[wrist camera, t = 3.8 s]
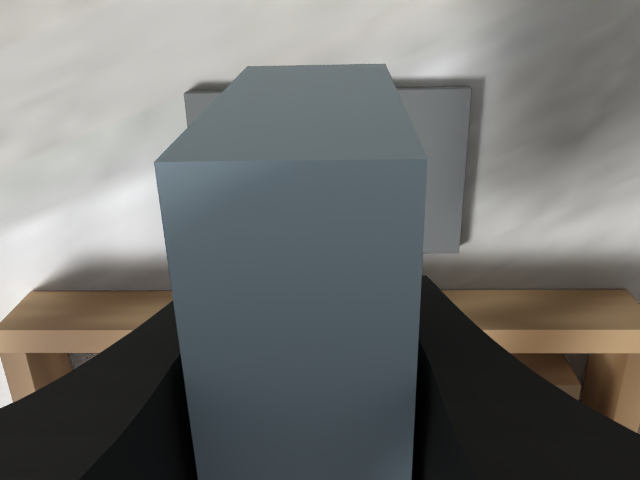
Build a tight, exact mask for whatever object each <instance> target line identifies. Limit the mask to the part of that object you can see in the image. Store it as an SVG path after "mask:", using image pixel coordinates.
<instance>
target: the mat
mask: <svg viewBox="0 0 640 480" xmlns="http://www.w3.org/2000/svg"><path fill="white" fill-rule="evenodd" d="M396 89H397V91H398V93H399V96H400V98H401V100H402V102H403V105H404V107H405V109H406V111H407V114H408V116H409V118H410V120H411V123H412V125H413V127H414V129H415V132H416V134H417V136H418V138H419V141H420V143H421V145H422V147H423V150H424V152H425V154H426V156H427V159H428V161H427V181H426V201H425V221H424V241H423V254H426V253H459V247H460V233H461V220H462V207H463V194H464V181H465V168H466V155H467V142H468V129H469V116H470V103H471V90H472V89H471V88H470V87H469V86H456V87H397V88H396ZM223 91H224V90H221V91H187V92H185V93H184V100H185V109H186V118H187V127H189V126H190V125H191V124H192V123H193V122H194V121H195V120H196V119H197V118H198V117H199V116H200V114H201V113H202V112H203V111H204V110H205V109H206V108H207V107H208V106H209V105H210V104H211V103H212V102H213V101H214V100H215V99H216V98H217V97H218V96H219V95H220V94H221V93H222V92H223Z"/></svg>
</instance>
